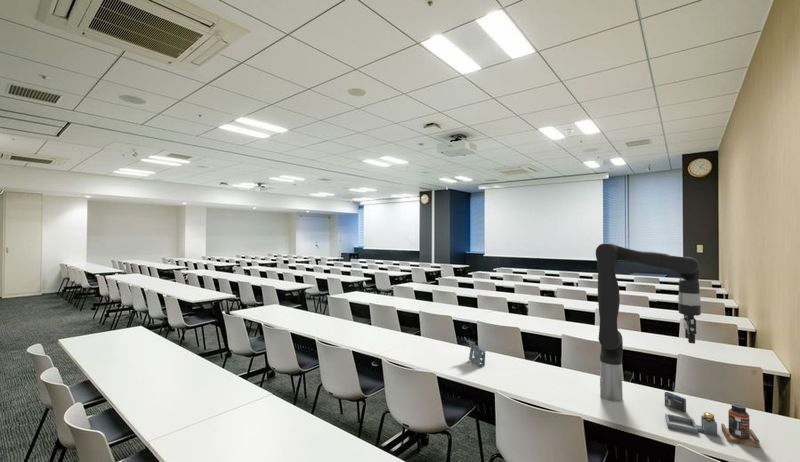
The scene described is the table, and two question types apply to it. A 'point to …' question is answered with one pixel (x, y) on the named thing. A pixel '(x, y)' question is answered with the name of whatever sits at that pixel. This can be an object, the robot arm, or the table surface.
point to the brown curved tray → (749, 441)
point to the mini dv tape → (675, 402)
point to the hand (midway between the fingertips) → (690, 340)
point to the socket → (705, 427)
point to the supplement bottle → (739, 421)
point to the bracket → (476, 354)
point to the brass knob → (708, 416)
